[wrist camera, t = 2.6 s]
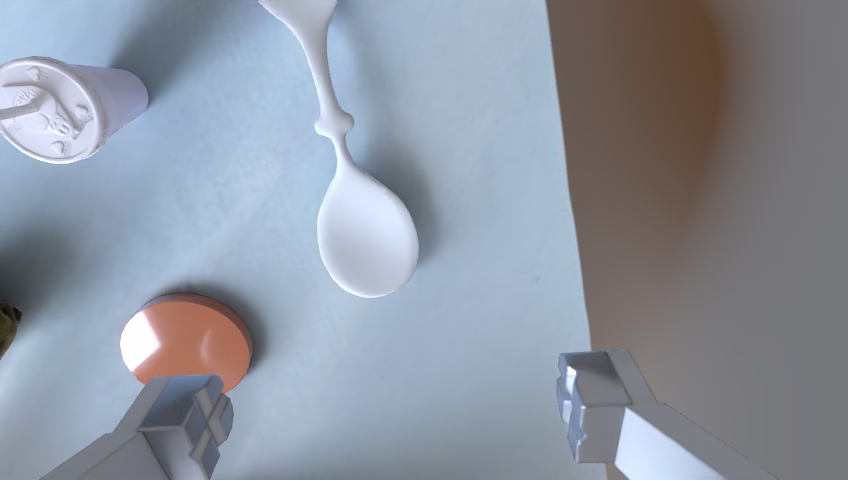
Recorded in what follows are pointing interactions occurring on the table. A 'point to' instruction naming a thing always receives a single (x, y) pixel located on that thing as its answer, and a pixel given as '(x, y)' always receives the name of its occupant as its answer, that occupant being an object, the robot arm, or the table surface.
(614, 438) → the robot arm
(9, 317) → the green bumpy oval lump
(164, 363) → the plant saucer
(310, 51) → the spoon
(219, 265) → the table surface
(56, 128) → the smoothie
